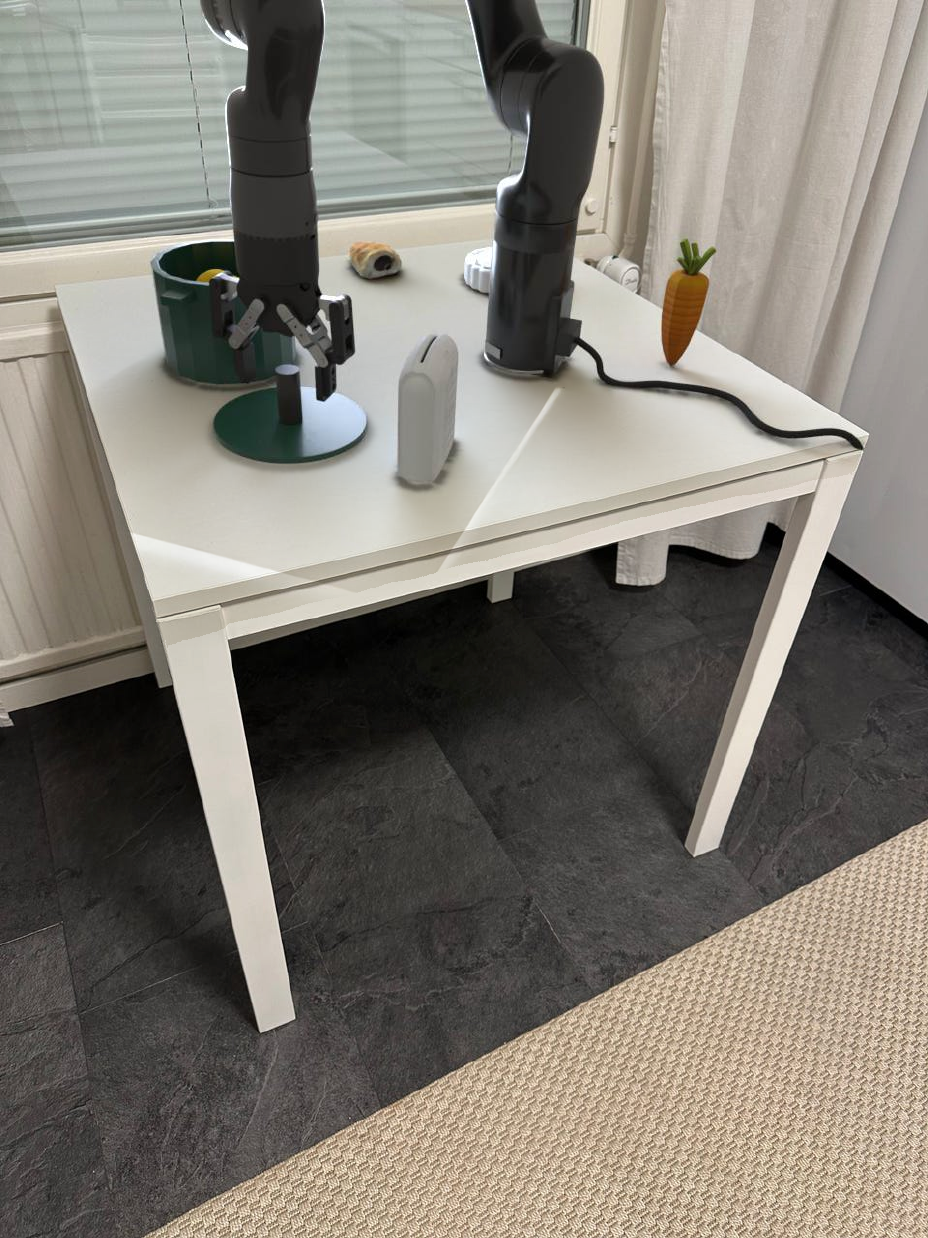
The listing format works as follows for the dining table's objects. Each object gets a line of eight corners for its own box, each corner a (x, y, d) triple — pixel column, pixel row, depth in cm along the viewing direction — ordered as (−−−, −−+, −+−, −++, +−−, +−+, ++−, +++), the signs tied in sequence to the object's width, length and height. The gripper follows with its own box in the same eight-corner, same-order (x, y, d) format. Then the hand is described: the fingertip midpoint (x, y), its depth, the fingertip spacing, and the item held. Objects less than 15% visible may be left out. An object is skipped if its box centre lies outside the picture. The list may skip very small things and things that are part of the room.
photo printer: (418, 433, 96) (421, 318, 88) (458, 439, 96) (464, 324, 88) (391, 483, 89) (392, 361, 81) (435, 490, 88) (440, 368, 80)
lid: (390, 413, 100) (390, 354, 95) (326, 482, 88) (323, 418, 84) (261, 385, 103) (256, 327, 99) (184, 448, 92) (174, 385, 87)
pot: (326, 340, 113) (322, 244, 106) (244, 409, 98) (232, 303, 91) (222, 320, 117) (211, 225, 109) (127, 382, 102) (106, 278, 94)
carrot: (698, 366, 113) (727, 241, 104) (676, 378, 110) (704, 250, 101) (665, 353, 116) (690, 229, 106) (642, 364, 113) (666, 238, 103)
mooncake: (549, 299, 128) (552, 273, 126) (463, 294, 128) (464, 268, 125) (544, 270, 137) (547, 245, 135) (464, 265, 137) (465, 240, 134)
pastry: (338, 259, 136) (337, 232, 134) (380, 254, 139) (380, 228, 136) (364, 280, 130) (363, 253, 127) (407, 275, 132) (407, 248, 130)
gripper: (182, 219, 81) (203, 390, 91) (328, 245, 78) (334, 420, 88) (226, 198, 87) (242, 362, 97) (365, 222, 83) (366, 389, 94)
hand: (286, 389), depth 93 cm, fingers open, 8 cm apart
